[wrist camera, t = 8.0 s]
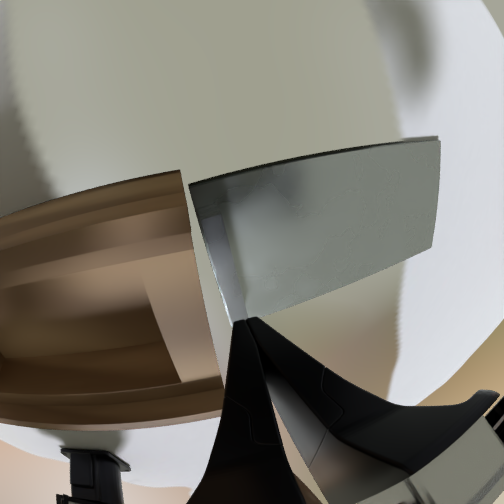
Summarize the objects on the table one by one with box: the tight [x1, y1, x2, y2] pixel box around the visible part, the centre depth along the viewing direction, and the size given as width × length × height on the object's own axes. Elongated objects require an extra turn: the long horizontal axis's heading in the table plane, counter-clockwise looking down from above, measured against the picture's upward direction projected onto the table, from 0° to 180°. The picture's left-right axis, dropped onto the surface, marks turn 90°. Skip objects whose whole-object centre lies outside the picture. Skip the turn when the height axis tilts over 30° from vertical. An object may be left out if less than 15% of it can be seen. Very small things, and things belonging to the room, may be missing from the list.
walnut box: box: [0, 170, 225, 431], centre depth 9 cm, size 10×16×5 cm, turn 93°
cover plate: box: [188, 140, 441, 327], centre depth 13 cm, size 8×15×2 cm, turn 101°
